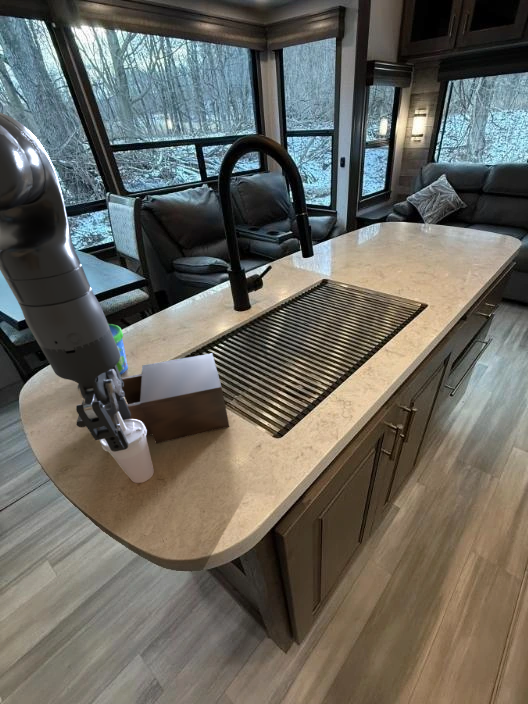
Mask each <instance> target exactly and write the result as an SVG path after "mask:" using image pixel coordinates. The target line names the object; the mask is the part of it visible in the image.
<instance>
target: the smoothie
mask: <svg viewBox="0 0 528 704" xmlns="http://www.w3.org/2000/svg"><path fill="white" fill-rule="evenodd" d="M117 418H118V421H119V424H120V427H121V429H122V431H123V433H124V435H125V437H126V440H127V442H128V448H127V449H125V450H120V451H116V452H114V451H111V449H110V447H109V445H108V444H107V442H106V440H105V439H101V440H99V443H100V445H101V448H102V449H103V450H104V451H106V452H108V453H109V454H110V455H111V456H112V458H113V459H114V460H115V462H116V463H117V464H118V465H119V467H120V468H121V469H122V471H123V472H124V473H125V474H126V475H127V477H128V478H129V479H130V480H131V482H133V483H135V484H142V483H144V482H147V481H149V480H150V479H151V478H152V477H153V475H154V473H155V469H154V466H153V465H154V464H153V461H152V457H151V451H150V448H149V444H148V443H149V442H148V439H147V436H146V434H147V430H146V427H145V426H144V424H143V423H142V422H141V421H139V420H136V419H126V420H122V418H121V415H120V413H119V412H117Z"/></svg>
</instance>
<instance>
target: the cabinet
mask: <svg viewBox="0 0 528 704" xmlns="http://www.w3.org/2000/svg"><path fill="white" fill-rule="evenodd" d="M215 360H216V359H215V357H214V354H213V353H206V354H205V353H204V354H201V355H194V356H189V357H182V358H177V359H171V360H165V361H160V362H154V363H148V364H143V365H141V374H142V379H141V395H140V405H141V408H142V410H143V412H144V415H145V417H146V420H147V422H148V425H149V427H150V430H151V432H152V435H151V436H152V437H153V440H154V442H155V444H161V443H166V442H170V441H174V440H178V439H183V438H187V437H191V436H196V435H200V434H204V433H208V432H212V431H218V430H221V429H222V430H223V429H226V428H230V422H229V418H228V412H227V408H226V403H225V397H224V393H223V392H224V391H223V387H222V384H221V379H220V376H219V372H218V368H217V364H216V361H215Z"/></svg>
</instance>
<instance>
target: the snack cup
mask: <svg viewBox="0 0 528 704" xmlns="http://www.w3.org/2000/svg"><path fill="white" fill-rule="evenodd" d="M108 325H109V327H110V330H111V332H112V335H113V337H114V340H115V342H116V345H117V347H118V350H119V352H120V360H119V362H118V363H117V364H116V365H117V368H118V370H119V373H120V375H123V374H124V373H125V372H126V371H127V370H128V367H129V366H128V359H127V355H126V349H125V344H124V341H123V338H124V333H123V331H122V328H121V327H120V326H119V325H116V324H113V323H108Z"/></svg>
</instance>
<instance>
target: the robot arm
mask: <svg viewBox="0 0 528 704" xmlns="http://www.w3.org/2000/svg"><path fill="white" fill-rule="evenodd" d="M68 217H69V216H68V214H67V209H66V205H65V200H64V196H63V192H62V188H61V184H60V182H59V179H58V176H57V172H56V170H55V167H54V165H53V163H52V161H51V159H50V157H49V155H48V153H47V152H46V150H45V149H44V147H43V145H42V144H41V142H40V141H39V139H37V137H36V136H35V135H34V134H33V133H32V132H31V130H29V129H28V128H27V127H26V126H25V125H24V124H22V123H21V122H19V121H18V120H17V119H15V118H13V117H12V116H10V115H7V114H5V113H3V112H0V273H1V274H2V276H3V278H4V280H5V282H6V283H7V286H8V287H9V289H10V291H11V293H12V294H13V296H14V297H15V299H16V301H17V302H18V305H19V307H20V310H21V312H22V315H23V317H24V320H25V323H26V325H27V327H28V329H29V330H30V331H31V333H32V335H33V337H34V339H35V340H36V342H37V344H38V346H39V348H40V349H41V351H42V353H43V355H44V356H45V358H46V360H47V361H48V363H49V365H50V367H51V368H52V370H53V372H54V374H55V375H56V376H57V377H59V378H61V379H64V380H69V381H72V382H75V383H76V384H77V392H78V394H79V397H80V398H81V399H82V401H83V400H84V404H82V403H81V404H77V405H76V406H75V407H76V408H75V411H76V413H77V416H80V418H81V419H82V421H83V422H84V424H85V425H86V426H85V428H86V429H87V430H88V431H89V433H90V434H91V436H92V438H93V439H94V441H96V442H97V441H100V440H101V439H105V440H106V442H107V444H108V445H109V447H110V449H111V451H114V452H116V451H120V450H125V449H127V448H128V442H127V440H126V437H125V435H124V433H123V431H122V429H121V427H120V424H119V421H118V418H117V412H119V413H120V415H121V418H122V420H126V419H129V418H130V417H131V413H130V410H129V408H128V406H127V401H126V399H125V397H124V395H125V393H124V391H123V390H122V387H124V382H123V381H122V376H121V375H122V374H121V375H120V373H119V370H118V368H117V365H116V364H117V363H118V362H119V360H120V352H119V350H118V347H117V345H116V342H115V340H114V337H113V335H112V332H111V330H110V327H109V325H108V324H109V322H108V320H107V318H106V315H105V313H104V311H103V308H102V306H101V304H100V302H99V300H98V299H97V296H96V295H95V293H94V291H93V290H92V287H91V285H90V282H89V280H88V277H87V275H86V273H85V270H84V267H83V265H82V263H81V260H80V258H79V256H78V254H77V252H76V250H75V247H74V243H73V239H72V234H71V226H70V222H69V218H68ZM105 405H109V407H110V408H109V409H105ZM109 416H110V417H111V419H110V417H109Z"/></svg>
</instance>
